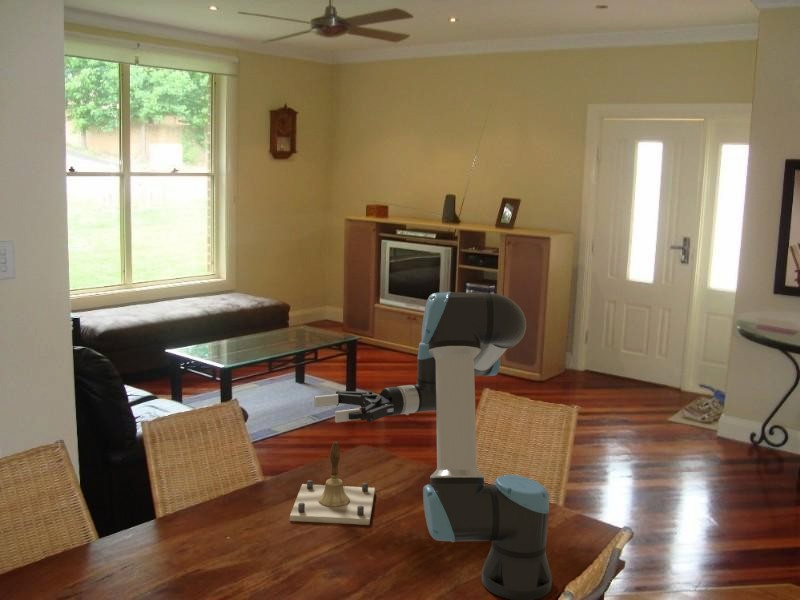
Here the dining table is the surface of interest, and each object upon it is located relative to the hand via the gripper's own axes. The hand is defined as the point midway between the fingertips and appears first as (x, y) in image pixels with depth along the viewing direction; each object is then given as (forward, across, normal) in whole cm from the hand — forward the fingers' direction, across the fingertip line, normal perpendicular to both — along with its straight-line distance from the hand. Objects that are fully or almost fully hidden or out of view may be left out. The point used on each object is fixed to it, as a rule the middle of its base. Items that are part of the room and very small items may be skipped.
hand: (324, 409), depth 207 cm
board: (-3, 0, -27) cm, 27 cm away
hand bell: (-3, 0, -26) cm, 26 cm away
